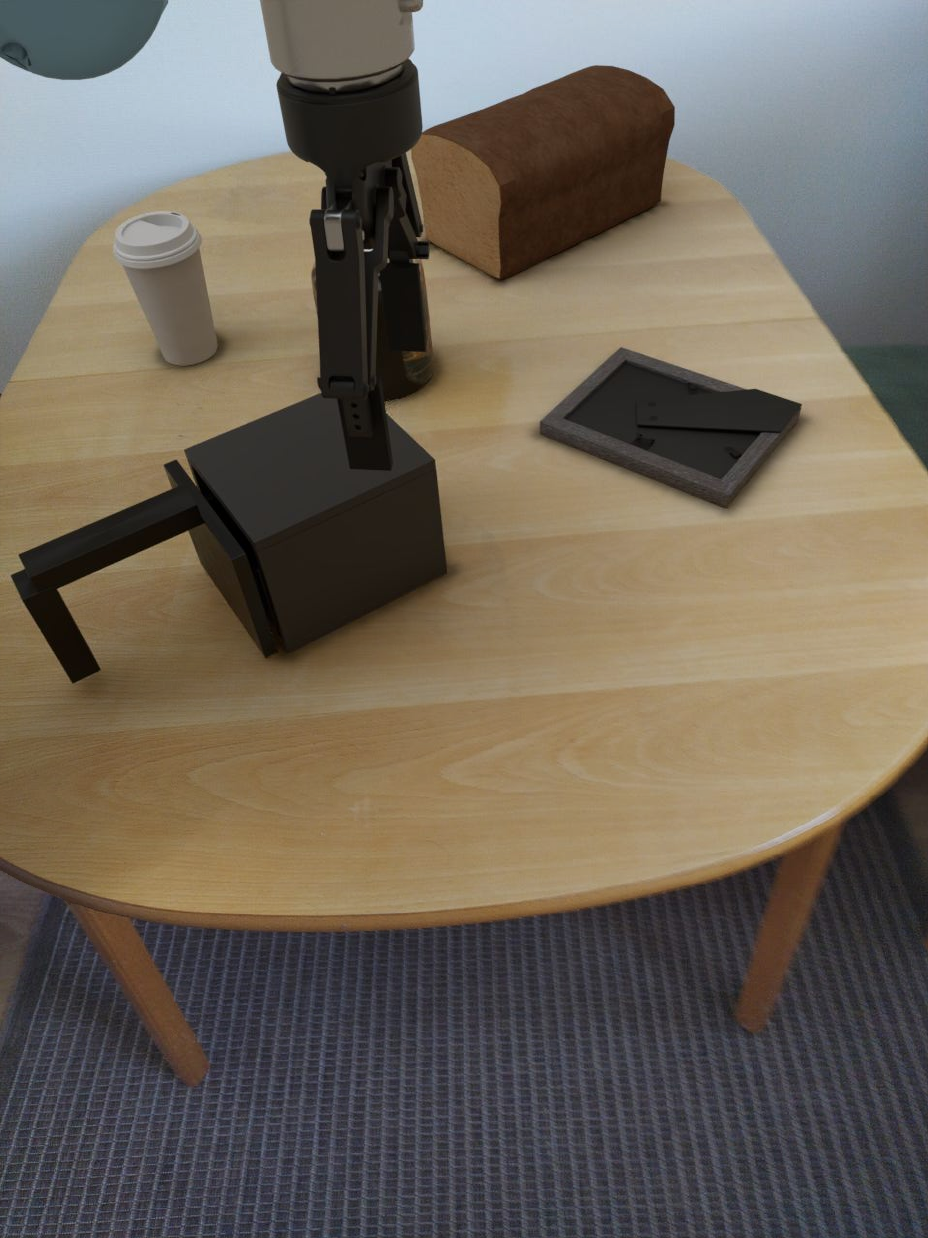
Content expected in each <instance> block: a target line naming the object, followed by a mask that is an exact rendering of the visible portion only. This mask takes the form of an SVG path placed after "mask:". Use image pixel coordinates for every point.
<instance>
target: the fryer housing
mask: <svg viewBox="0 0 928 1238" xmlns="http://www.w3.org/2000/svg"><path fill="white" fill-rule="evenodd" d="M386 416H387V423H388V430H389V437H390V444H391V452H392V459H393V466H392V469H391V471H382V470H360V469H350V467H349V461H348V456H347V450H346V445H345V440H344V434H343V429H342V423H341V418H340V413H339V407H338V402H337V399H332V398H323V397H322V395H321V392H320V393H316V394H314V395H313V396H309V397H307V398H305V399H303V400H300V401H297V402H296V403H293V404H291V405H288V406H286V407H283V408H281V409H279V410H276V411H273V412H271V413H269V414H267V415H264V416H262V417H259V418H256V419H255V420H252V421H250V422H246V423H244V424H242V425H240V426H237V427H234V428H233V429H231V430H228V431H225V432H223V433H221V434H218V435H216V436H213V437H211V438H209V439H206V440H203V441H201V442H199V443H197V444H194V445H192V446H189V447H186V448H185V449H183V452H184V455H185V458H186V459H187V463H188V467H189V469H190V473H191V475H192V477H193V480H194V484H195V485H196V486H197V488H198V489H199V490H200V492H201V493H202V495H203V496H204V497H205V496H208V495H210V494H212V493H213V494H214V495H215V497H216V498H217V499H218V501H219V502H220V503H221V505H222V506H223V507H224V509H225V510H226V511H227V513H228V514H229V515H230V517H231V518H232V519H233V521H234V522H235V523H236V525H237V526H238V527H239V529H240V530H241V531H242V533H243V534H244V535H245V537H246V538H247V539H248V541H249V542H250V543H251V545H252V547H253V551H254V554H255V557H256V560H257V563H258V566H259V570H260V573H261V576H262V579H263V582H264V585H265V589H266V592H267V595H268V598H269V601H270V604H271V608H272V611H273V614H274V617H275V620H276V623H277V626H278V630H279V634H277V633H276V631H275V630H274V629H273V627H272V626H271V624H270V623H269V625H270V628H271V631H272V633H274V635H275V636H276V638H277V639H278V640H279V642H280V644H281V645H282V646H283V648H284V649H285V650H286V652H287V653H288V654H291V653H293V652H295V651H297V650H299V649H301V648H303V647H305V646H307V645H308V644H311V643H313V642H315V641H316V640H319V639H320V638H322V637H324V636H326V635H329V634H330V633H332V632H334V631H336V630H338V629H340V628H342V627H344V626H346V625H348V624H350V623H351V622H354V621H356V620H358V619H360V618H362V617H363V616H366V615H367V614H369V613H371V612H374V611H375V610H377V609H379V608H381V607H383V606H385V605H387V604H389V603H391V602H393V601H395V600H397V599H398V598H401V597H403V596H405V595H407V594H408V593H411V592H413V591H415V590H416V589H418V588H420V587H422V586H424V585H426V584H428V583H430V582H433V581H434V580H436V579H438V578H440V577H442V576H443V575H445V574H447V573H448V569H447V567H448V566H447V559H446V547H445V539H444V530H443V529H444V528H443V520H442V510H441V500H440V491H439V481H438V473H437V472H438V471H437V463H436V459H435V457H433V456H432V455H431V454H430V453H429V452H428V451H426V449H425V448H424V447H423V446H421V444H419V442H417V440H415V439H414V438H413V437H412V436H411V435H410V434H409V433H408V432H407V431H406V430H405V429H404V428H402V426H401V425H399V423H397V422H396V421H395V420H394V419H393V417H391V416H390V415H389V414H388V413H387V412H386Z"/></svg>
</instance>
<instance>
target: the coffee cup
mask: <svg viewBox="0 0 928 1238" xmlns="http://www.w3.org/2000/svg"><path fill="white" fill-rule="evenodd" d="M202 243H203V238H202V235H201V234H200V232H199V230H198V229H197V228H196V226H195V225H194V224H193V223H191V222H190V220H189V218H188V217H187V216H186V215H185V214H182V213H180V212H177V211H172V210H171V211H170V210H160V211H159V210H158V211H150V212H145V213H142V214H138V215H136V216H133V217H130V218H129V219H127V220H126V221H124V222H122V223H121V224H120V225H119V226H118V227H117V228H116V229H115V232H114V241H113V247H112V251H113V259H114V260H115V261H116V262H117V263H118V264H120V265H122V268H123V271H124V272H125V274H126V277H127V279H128V281H129V283H130V285H131V288H132V290H133V292H134V294H135V296H136V299H137V301H138V302H139V305H140V307H141V310H142V312H143V314H144V316H145V320H146V321H147V323H148V325H149V327H150V330H151V332H152V334H153V337H154V339H155V341H156V343H157V345H158V348H159V350H160V352H161V354H162V357H163V359H164V360H165V361H166V362H167V363H168V364H170V365H174V366H182V367H183V366H184V367H185V366H186V367H187V366H193V365H196V364H200V363H203V362H205V361H208V360H209V359H211V358H212V357H213V356H214V355H215V354H216V353H217V351H218V348H219V343H218V337H217V334H216V328H215V323H214V318H213V313H212V307H211V303H210V298H209V292H208V287H207V282H206V276H205V272H204V266H203V261H202V254H201V250H200V247H201V245H202Z"/></svg>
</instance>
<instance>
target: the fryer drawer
mask: <svg viewBox="0 0 928 1238" xmlns="http://www.w3.org/2000/svg"><path fill="white" fill-rule="evenodd" d="M162 466H163V468H164V472H165V473H166V477H167V480H168V481H169V483H170V487H171V488H170V489H168V490H166V491H164V492H162V493H158V494H157V495H154V496H152V497H149V498H147V499H145V500H143V501H140V502H137V503H135V504H133V505H131V506H128V507H126V508H124V509H122V510H119V511H117V512H114V513H112V514H110V515H107V516H105V517H103V518H100V519H98V520H96V521H93V522H91V523H88V524H86V525H84V526H81V527H79V528H77V529H74V530H72V531H70V532H67V533H65V534H63V535H61V536H58V537H56V538H53V539H51V540H48V541H46V542H44V543H42V544H40V545H37V546H35V547H32V548H30V549H27V550H25V551H23V552H20V553H18V558H19V559H20V561H21V563H22V565H23V568H24V569H20V570H18V571H16V572H15V573H12V574H10V578H11V580H12V583H13V584H14V586H15V588H16V591H17V593H18V595H19V597H20V599H21V601H22V603H23V604H24V606H25V608H26V610H27V611H28V613H29V614H30V616H31V617H32V619H33V621H34V623H35V625H36V626H37V628H38V629H39V631H40V633H41V634H42V636H43V637H44V639H45V641H46V642H47V644H48V645H49V648H50V649H51V650H52V653H53V654H54V656H55V657H56V659H57V661H58V662H59V664H60V665H61V667H62V669H63V671H64V673H65V674H66V675H67V677H68V679H69V680H70V682H71V684H76V683H77V682H78V683H79V682H80V681H82V680H85V679H87V678H88V677H90V676H92V675H95V674H97V673H98V672H101V671H102V669H101V667H100V665H99V663H98V661H97V659H96V657H95V655H94V653H93V651H92V649H91V647H90V645H89V644H88V642H87V640H86V639H85V637H84V635H83V633H82V631H81V629H80V627H79V626H78V624H77V622H76V620H75V618H74V616H73V615H72V613H71V611H70V609H69V608H68V606H67V604H66V603H65V600H64V599H63V597H62V595H61V593H60V591H59V590H58V589H60V588H63V587H65V586H68V585H70V584H71V583H74V582H76V581H79V580H81V579H83V578H85V577H88V576H90V575H92V574H94V573H97V572H99V571H101V570H103V569H105V568H107V567H110V566H112V565H114V564H116V563H118V562H122V561H123V560H126V559H128V558H131V557H133V556H135V555H137V554H139V553H141V552H143V551H146V550H148V549H151V548H153V547H155V546H157V545H160V544H161V543H164V542H166V541H168V540H170V539H172V538H173V539H174V538H175V537H178V536H179V535H183V534H184V533H186V532H188V534H189V537H190V539H191V542H192V544H193V547H194V549H195V553H196V555H197V558H198V560H199V563H200V566H202V568H203V569H204V571H205V572H206V574H207V575H208V576H209V578H210V579H211V581H212V582H213V584H214V585H215V588H217V590H218V591H219V593H220V594H221V595H222V597H223V599H224V600H225V602H226V603H227V604H228V606H229V607H230V609H231V610H232V612H233V613H234V615H235V616H236V618H237V619H238V621H239V623H241V625H242V626H243V628H244V629H245V631H246V632H247V634H248V635H249V637H250V638H251V640H252V641H253V642H254V644H255V645H256V647H257V649H258V650H259V651H260V653H261V654H262V656H263V658H265V659H268V658H270V657H271V656H273V655H276V654H278V653H279V650H278V646H277V644H276V641H275V638H274V635H273V631H272V629H271V628H270V625H269V623H270V624H271V626H272V627H273V629H274V630H275V631H276V633H277V634H279V630H278V626H277V623H276V620H275V617H274V614H273V611H272V608H271V604H270V601H269V598H268V595H267V592H266V589H265V585H264V582H263V579H262V576H261V573H260V570H259V566H258V563H257V560H256V557H255V554H254V551H253V547H252V545H251V543H250V542H249V541H248V539H247V538H246V537H245V535H244V534H243V533H242V531H241V530H240V529H239V527H238V526H237V525H236V523H235V522H234V521H233V519H232V518H231V517H230V515H229V514H228V513H227V511H226V510H225V509H224V507H223V506H222V505H221V503H220V502H219V501H218V499H217V498H216V497H215V495H214V494H213V493H212V494H210V495H208V496H205V497H204V496H203V495H202V493H201V492H200V490H199V489H198V488H197V486H196V483H195V481H193V480H192V478H191V476H189V473H187V472H186V470H185V469H184V467H183V466H182V465H181V463H180V461H179V460H178V459H174V460H171V461H169V462H166V463H163V465H162Z"/></svg>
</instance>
